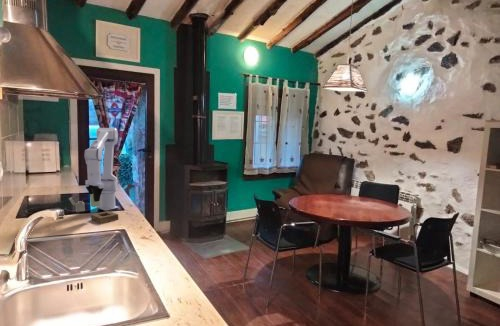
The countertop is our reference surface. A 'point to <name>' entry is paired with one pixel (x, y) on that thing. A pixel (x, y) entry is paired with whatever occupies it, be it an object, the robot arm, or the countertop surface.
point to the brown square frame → (104, 217)
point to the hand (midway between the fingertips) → (95, 200)
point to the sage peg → (93, 203)
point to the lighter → (78, 205)
